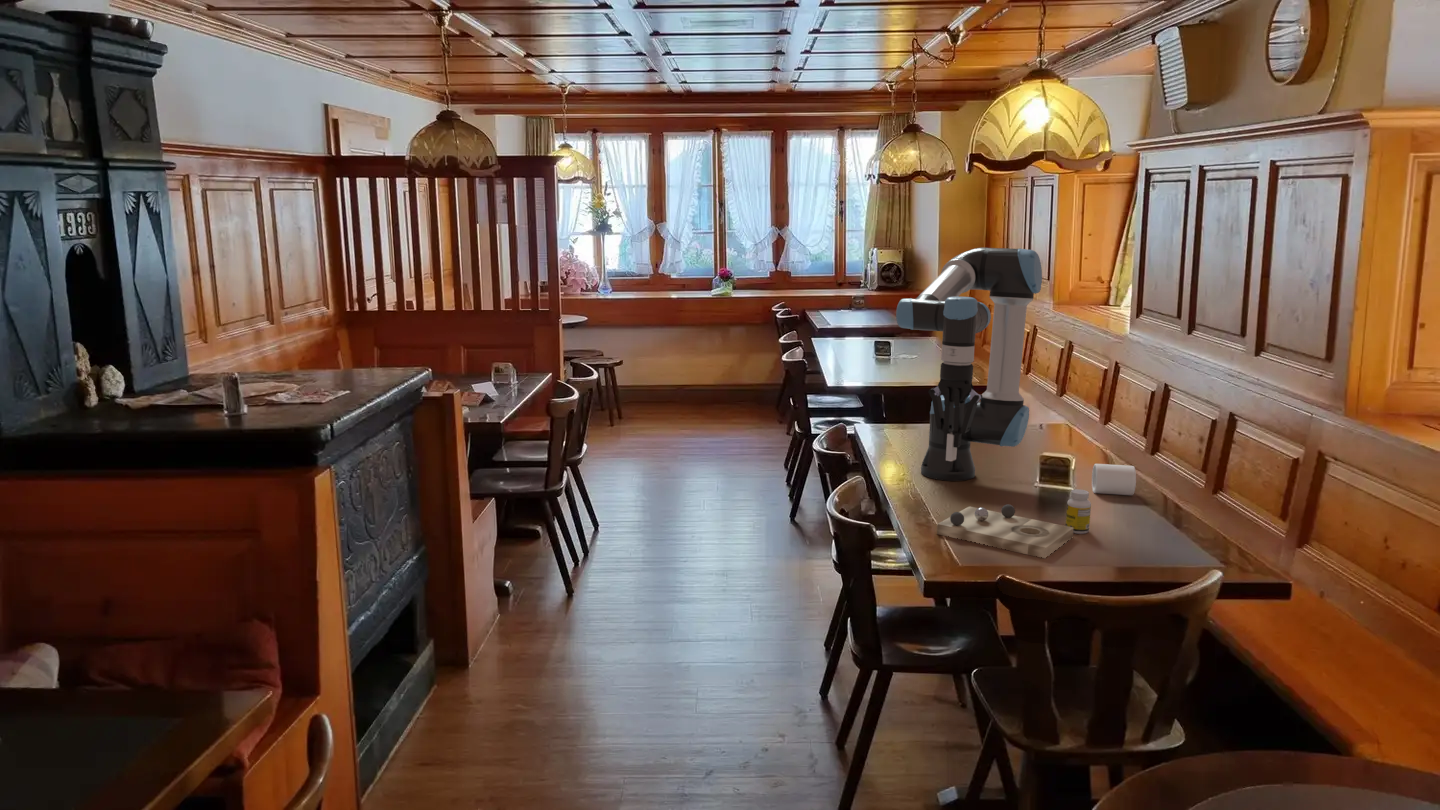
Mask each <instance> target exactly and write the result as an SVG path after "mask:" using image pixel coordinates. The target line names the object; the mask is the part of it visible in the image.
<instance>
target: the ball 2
mask: <svg viewBox="0 0 1440 810" xmlns="http://www.w3.org/2000/svg"><path fill="white" fill-rule="evenodd" d="M1015 509H1016V508H1015V507H1014V506H1013V505H1011V504H1005V505H1003V506H1002V507H1001V512H1000V513H1002V515H1003V516H1004V517H1006V518H1011V517H1012V516H1015V514H1016V510H1015Z"/></svg>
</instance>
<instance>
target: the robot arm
mask: <svg viewBox="0 0 1440 810" xmlns="http://www.w3.org/2000/svg"><path fill="white" fill-rule="evenodd" d="M1042 270H1043V269H1042V263H1041V259H1040V255H1039V254H1038V253H1037V252H1036V251H1035V250H1033V249H1025V248H1005V247H1004V248H1003V247H1000V248H999V247H997V248H996V247H976V248H972V249H970V250H966V251H963V252H961V253H960V254H957V255H955V256H953V257H952V258H951V259H949V260H948V261H947V262H946V263H945V264H944V265H943V267H942V269H941V272H940V274H939V275H938V276H937V277H936V278H935V279H934V280H933V281H932V282H931V283H930V284H929V285H928V286H927V287H926V288H925V289H924V290H923V291H922V292H921V293H920V294H919V295H918V296H917V297H916V298H911V297H910V298H901V299H900V300H899V302H898V304H897V307H896V311H895V314H896V315H895V316H896V317H895V318H896V319H895V320H896V324H897V326H898V327H899V328H901V329H908V330H909V329H910V330H912V331H913V330H917V331H918V330H919V331H928V332H929V331H933V332H942V338H941V339H942V340H941V341H942V342H941V357H940V358H941V359H940V361H942V363H941V364H940V370H939V371H940V373H939V378H940V380H939V382H938V384H937V386H935V387H933V388H930V389H929V390H928V394H929V396H930V398H931V400H932V401H931V406H930V411H929V430H928V431H929V432H928V433H929V435H928V446H927V450H926V453H925V455H924V456H923V457H924V458H923V460H922V463H921V465H920V466H921V467H920V473H921V475H923V476H925V477H927V478H930V479H934V480H939V481H949V482H950V481H951V482H959V481H961V482H962V481H968V480H972V479H974V478H975V476H976V475H975V473H976V467H975V463H974V459H973V454H972V452H971V443H979V444H986V445H994V446H995V445H996V446H1000V447H1017V446H1018V445H1020V443H1021V442H1022V441H1023V439H1024V436H1025V434H1026V431H1027V428H1028V424H1029V420H1030V419H1029V418H1030V408H1029V406H1027V405H1024V403H1025V402H1024V401H1025V399H1024V397H1023V396H1022V395H1021V394H1020V383H1021V382H1020V381H1021V374H1022V373H1021V372H1022V362H1023V361H1022V360H1023V351H1024V341H1025V340H1024V339H1025V332H1026V331H1025V330H1026V328H1025V327H1026V318H1027V309H1028V308H1027V307H1028V305H1030V303H1031V302H1033V301H1034V295H1035V294H1039V293H1040V292H1041V289H1042V283H1043V271H1042ZM970 290H975V291H976V290H977V291H978V290H981V291H989V298H990V300H991V301H992V302H993V304H994V305H993V318H992V315H991V310H990V309H989V307H988V306H987V305H986V304H985V303H983V302H980V301H978V300H977V299H976V298H975V297H971V296H961V295H962V294H964V293H967V292H969V291H970ZM991 319H992V329H991V340H990V350H989V351H990V353H989V361H988V362H989V363H988V373H987V374H988V375H987V384H986V390H985V391H984V392H983V393H978V392H976V391H975V390H974V388H975V387H974V385H973V377H974V365H973V364H972V363H974V361H975V343H976V334H978V333H980V332H982V331H983V330H985V329H986V328H987V327H988V326H989V325H990V323H991Z"/></svg>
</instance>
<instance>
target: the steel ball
mask: <svg viewBox="0 0 1440 810" xmlns="http://www.w3.org/2000/svg"><path fill="white" fill-rule="evenodd" d="M977 508H978V509H976V511H975V517H976V519H977V520H979V521H984V520H986V519H987V518H988V511H987V510H988V509H986V508H985V507H977Z"/></svg>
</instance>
